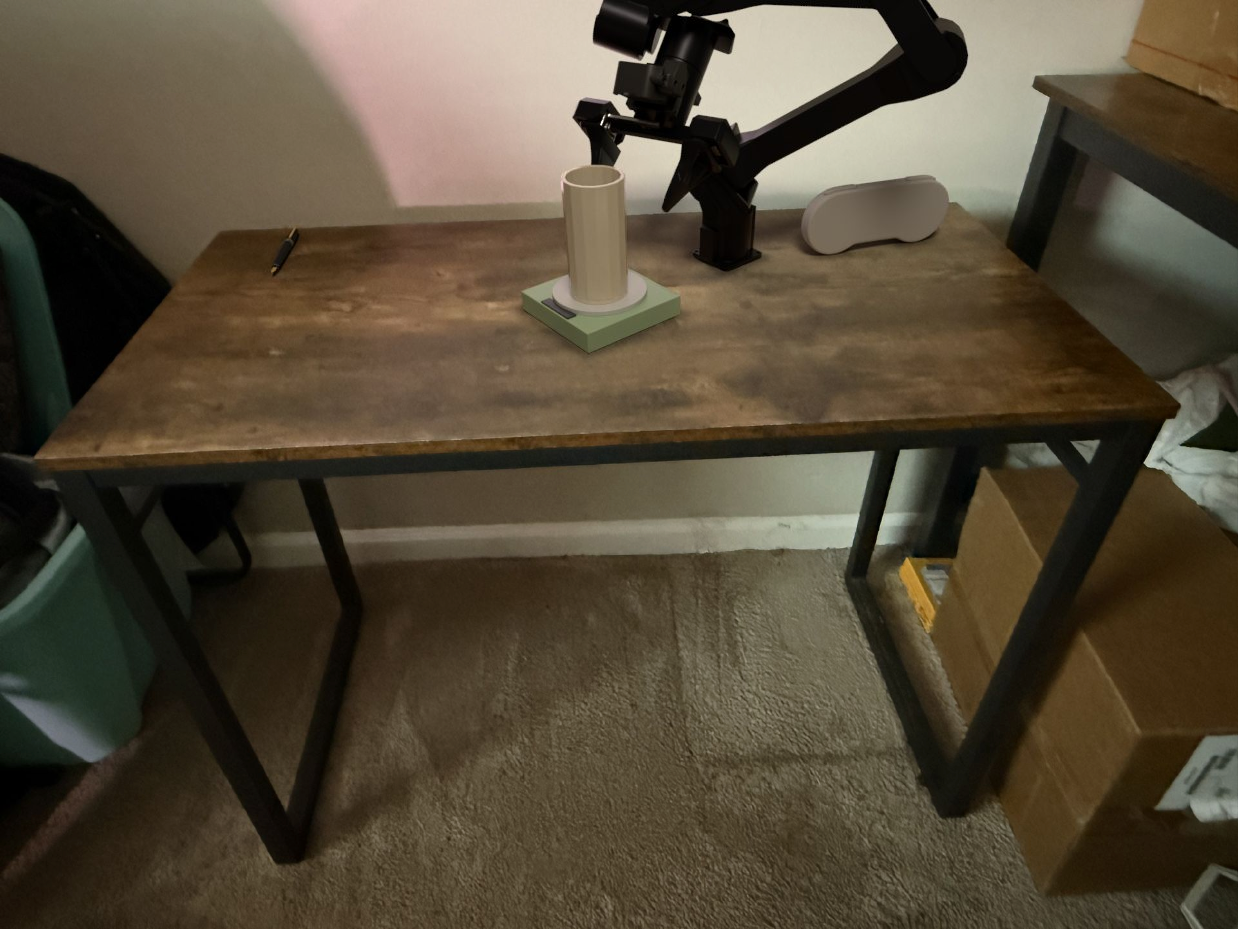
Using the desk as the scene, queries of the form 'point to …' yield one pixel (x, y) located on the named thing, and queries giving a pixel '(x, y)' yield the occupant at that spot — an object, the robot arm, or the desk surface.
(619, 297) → the cup
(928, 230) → the game controller
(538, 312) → the scale
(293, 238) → the fountain pen
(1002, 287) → the desk surface
